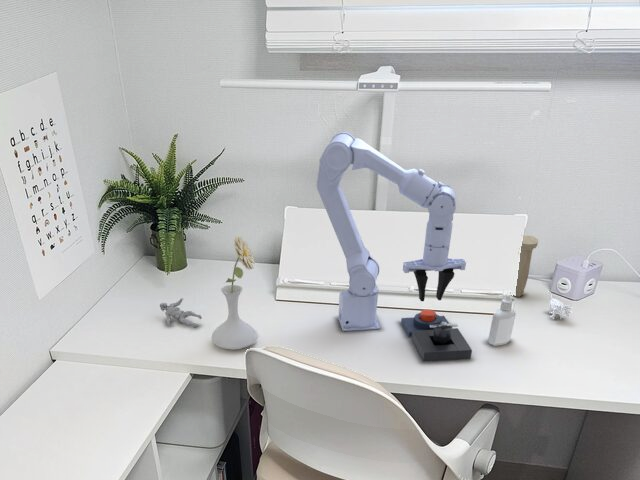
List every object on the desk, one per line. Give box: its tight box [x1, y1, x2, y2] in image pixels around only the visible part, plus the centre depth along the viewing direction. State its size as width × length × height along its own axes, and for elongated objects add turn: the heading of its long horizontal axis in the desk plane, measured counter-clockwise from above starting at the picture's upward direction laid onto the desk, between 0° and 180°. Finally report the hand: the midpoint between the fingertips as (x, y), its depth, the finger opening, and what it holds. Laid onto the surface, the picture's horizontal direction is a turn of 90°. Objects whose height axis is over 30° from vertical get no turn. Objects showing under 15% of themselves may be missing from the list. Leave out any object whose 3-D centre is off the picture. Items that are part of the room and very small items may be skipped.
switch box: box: [400, 312, 450, 338], centre depth 169 cm, size 11×8×3 cm
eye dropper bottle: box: [487, 293, 517, 347], centre depth 160 cm, size 4×6×12 cm
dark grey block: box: [430, 322, 458, 346], centre depth 159 cm, size 6×4×7 cm, turn 95°
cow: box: [548, 290, 573, 320], centre depth 173 cm, size 12×5×5 cm, turn 179°
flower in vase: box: [210, 235, 259, 350], centre depth 158 cm, size 13×11×25 cm
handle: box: [516, 235, 539, 298], centre depth 180 cm, size 5×6×15 cm
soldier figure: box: [159, 297, 203, 328], centre depth 174 cm, size 8×5×12 cm
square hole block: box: [411, 327, 473, 363], centre depth 160 cm, size 11×11×2 cm
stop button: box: [420, 309, 437, 322], centre depth 167 cm, size 4×4×2 cm
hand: (430, 299), depth 165 cm, fingers open, 4 cm apart
